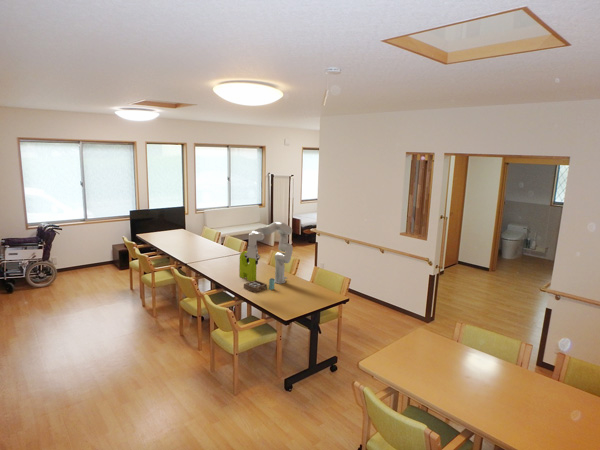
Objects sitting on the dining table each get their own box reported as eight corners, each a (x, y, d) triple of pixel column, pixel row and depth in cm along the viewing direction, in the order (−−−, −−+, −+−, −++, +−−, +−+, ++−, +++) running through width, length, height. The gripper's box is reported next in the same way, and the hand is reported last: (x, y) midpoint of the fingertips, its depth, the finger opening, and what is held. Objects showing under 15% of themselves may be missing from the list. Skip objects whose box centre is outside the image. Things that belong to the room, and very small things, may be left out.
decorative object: (256, 280, 396) (256, 252, 390) (251, 281, 391) (251, 253, 386) (244, 275, 409) (244, 248, 404) (239, 276, 404) (239, 249, 399)
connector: (271, 288, 374) (272, 277, 372) (274, 289, 372) (274, 278, 370) (269, 288, 372) (269, 278, 370) (271, 289, 369) (271, 279, 367)
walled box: (255, 284, 383) (256, 280, 382) (266, 288, 372) (266, 284, 371) (243, 288, 371) (243, 283, 370) (254, 292, 360) (254, 288, 360)
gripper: (262, 246, 354) (262, 263, 358) (246, 244, 361) (246, 261, 365) (258, 248, 348) (258, 265, 351) (242, 245, 355) (242, 263, 358)
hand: (252, 263), depth 358 cm, fingers open, 9 cm apart
